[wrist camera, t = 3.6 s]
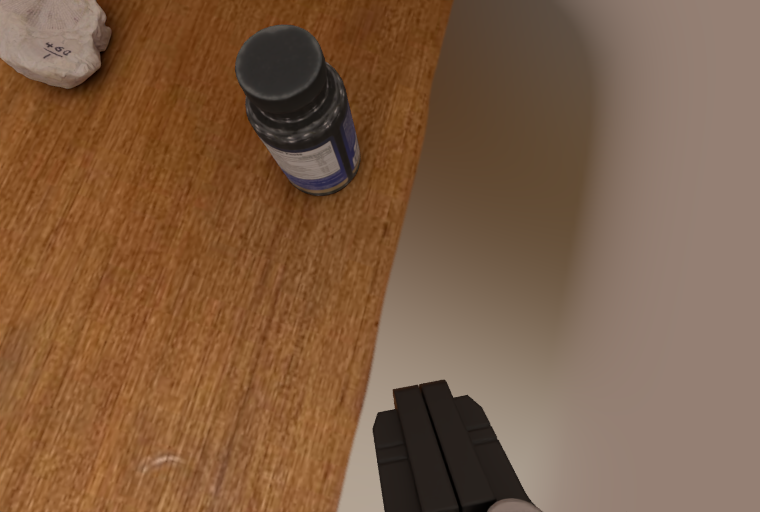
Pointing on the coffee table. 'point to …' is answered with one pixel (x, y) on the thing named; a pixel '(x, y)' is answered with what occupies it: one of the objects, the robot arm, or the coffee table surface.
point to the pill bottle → (299, 108)
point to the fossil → (53, 39)
